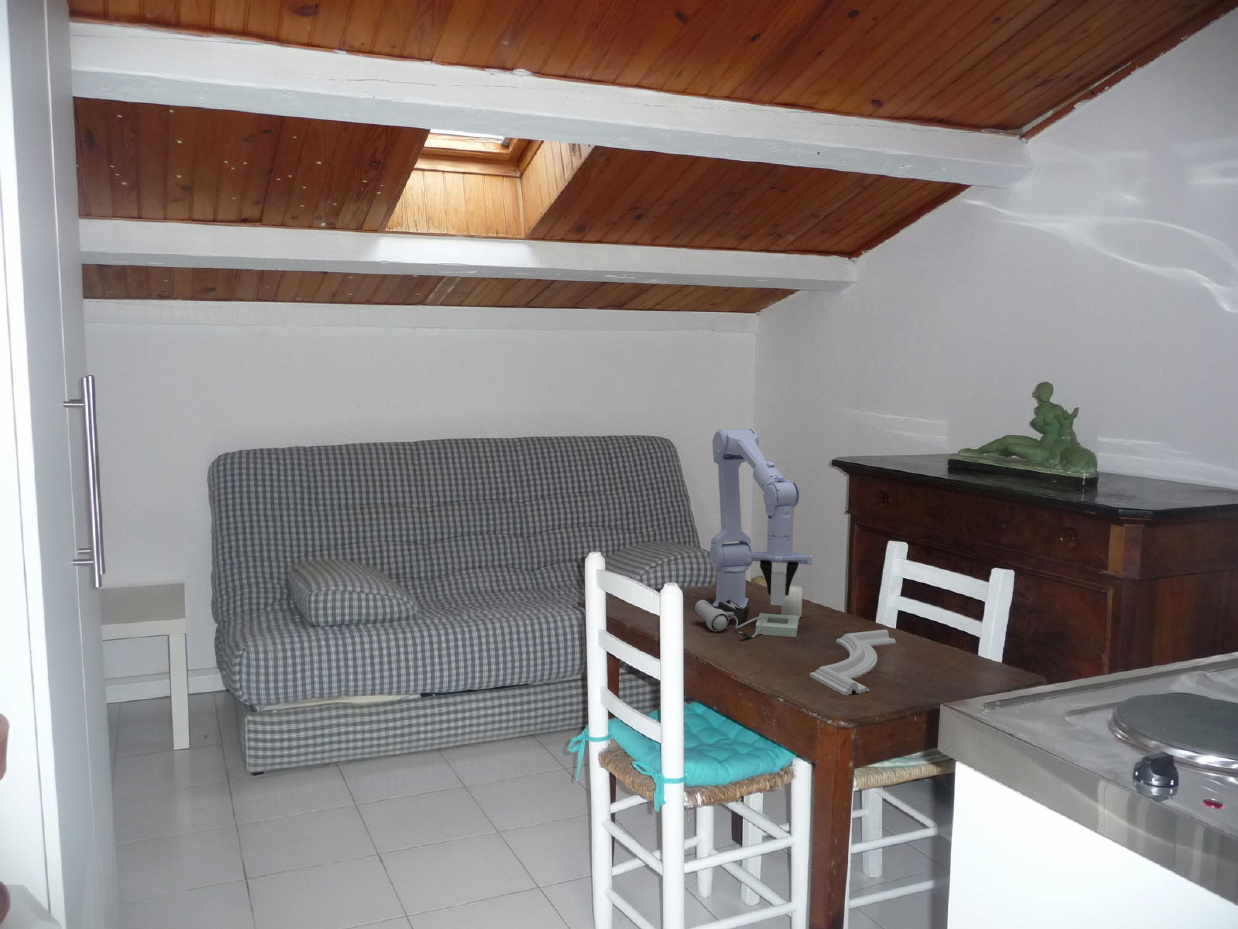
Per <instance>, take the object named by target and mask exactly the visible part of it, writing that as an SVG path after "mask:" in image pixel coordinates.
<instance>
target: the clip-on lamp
mask: <svg viewBox="0 0 1238 929" xmlns="http://www.w3.org/2000/svg"><path fill="white" fill-rule="evenodd" d="M694 610H695V612H696V613H697V614H698V615H699V616H700V617H701V618H702V619H703V620H705V622H706V626H707V627H708V629H709V630H711V631H713V632H716V633H717V631H715V630H720V631H719V632H722V631H723V630H725V629H726V628H727V626H728V625H729V620H732V621H734V622H735V629H741V628H742V627H744V626H745V625H746V626H747V625H748V624H750V623H751V622H754V621H756V620H758V619H761V624H760V626H759V628H758V630H757V631H756V630H755V631H756V633H755V632H754V633H753V635H751V634H748V633H747V632H745V631H743V630H739V631H738V634H739V635H741V636H742V637H744V638H746V639H748V640H751V639H753V638H755V636H757V635H758V634H757V633H758V631H759V630H760V628H761V626H762V623H763V619H762V617H759V616H758V617H754V618H751V619H749V620H748V617H749V613H750V608H749V607H747V606H746V607H745V608H744V609H743V608H742V607H740V606H739V605H737V604H736V603H734V602H733V601H731V600H727V601H726V603H723V602H719V603H718V607H714V606H713V604H711V603H710V602H708V601H707V600H706V599H700V600H698V601H697V602H696V603H695V606H694ZM742 623H743V624H742ZM752 637H753V638H752Z"/></svg>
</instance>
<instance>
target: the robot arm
mask: <svg viewBox="0 0 1238 929" xmlns="http://www.w3.org/2000/svg"><path fill="white" fill-rule="evenodd" d="M712 456H713V457H712V458H713V463H715V464H717V467H718V468H717V469H718V470H717V474H718V491H719V510H720V511H719V512H720V531H719V532H718V533H717V534H716V535H714V536H713V537H712V538H711V539H710V550H709V561H710V564H711V565H712V567H713V568H714V569H715V570H716V595H715V596H716V597H715V601H714V602H713V604H712V606H713V607H714V606H715V607H714V608H717V607H718V603H719V602H723V603H726V601H727V600H731V601H733V602H734V603H736V604H737V605H739V606H740V607H742V608H743V609H744V608H745V607H747V603H748V602H749V597H746V581H747V580H746V577H747V576H746V574H747V572H746V571H749V568H750V567H751V566H752V564H753V562H759V567H760V570H761V572H762V574H763V577H764V579H765V583H766V586H767V587H766V589H767V595H770V596H771V574H772V571H773V563H775V564H776V563H777V564H779V563H781V564H782V563H783V564H786V569H785V570H786V571H785V572H786V589H785V595H786V596H788V595H789V588H790V585H791V584H792V581H793V578H794V576H795V574H796V572H797V570H798V569H799V565H807V566H812V565H813V555H812V554H801V553H795V552H793V546H794V545H793V543H794V542H793V539H794V509H795V507H796V506H797V505H798V503H799V501H800V491H799V490H800V489H799V487H798V484H797V483H796V482H795V481H793V480H789V479H786V478H785V477H784V475H783V474H782V472H781V471H780V469H779V468H778V467H777V466H776V464H775V463H774V461H769V460H766V458H765V456H764V454H763V452H762V451H761V449H760V446H759V435H758V434H757V431H755V429H753V428H747V429H718V430H717V429H716V432H715V434H714V435H713V437H712ZM745 462H746V463H747V464H748V465H749V466H750V467H751V468H752V470H753V473H752V476H753V479H754V480H755V482H756V483H757V484H758V486H759V488H760V489H761V490H762V491H763V495H762V497H763V498H762V499H763V502H764V504H765V506H764V507H765V514H766V515H767V527H766V528H767V529H766V530H767V531H766V532H767V534H766V551H754V549H753V546H752V540H751V537H750V536H749V535H748V534H747V533H746V532H744V531H743V530H742V515H741V514H742V513H741V511H742V510H741V496H740V495H741V493H740V491H741V490H740V474H739V473H740V471H739V468H740V466H741V465H742V463H745ZM728 542H729V543H728ZM731 542H732V543H731ZM734 542H735V543H734Z"/></svg>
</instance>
